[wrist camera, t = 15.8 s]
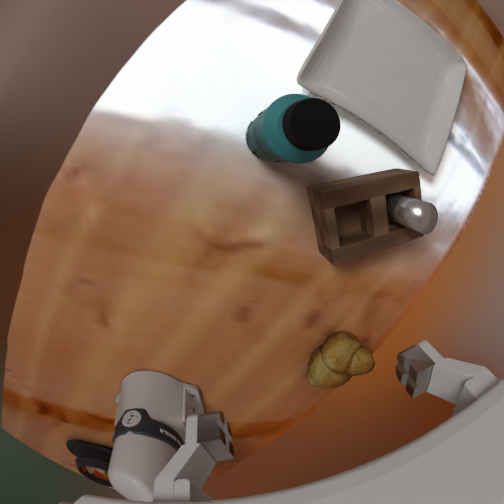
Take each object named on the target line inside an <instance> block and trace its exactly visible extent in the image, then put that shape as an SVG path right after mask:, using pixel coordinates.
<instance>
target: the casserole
mask: <svg viewBox="0 0 504 504" xmlns="http://www.w3.org/2000/svg"><path fill="white" fill-rule="evenodd" d="M67 447H68V449H69V451H70V452H71V453H72V454H73V455H75V456H77V457H78V458H77V459H76V460H75V461H76V464H77V468H78V470H79V472H80V473H81V474H83V475H84V476H85V477H87V478H89V479H90V480H92V481H94V482H97V483H99V484H102V485H105V486H108V487H113V486H112V485H111V483H110V481H109V478H108V468H109V464H110V459H111V455H112V450H110V449H107V448H104V447H101V446H97V445H92V444H86V443H83V442H79V441H76V440H68V441H67ZM113 488H114V487H113Z"/></svg>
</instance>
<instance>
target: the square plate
mask: <svg viewBox="0 0 504 504" xmlns="http://www.w3.org/2000/svg"><path fill="white" fill-rule="evenodd" d="M465 73H466V63H465V62H464V60H463V59H462V58H461V57H460V56H459V55H458V54H457V53H456V52H455V51H454V50H453V49H452V48H451V47H450V46H449V45H448V44H447V43H446V42H445V41H444V40H443V39H442V38H441V37H440V36H439V35H438V34H437V33H436V32H435V31H434V30H433V29H431V28H430V27H429V26H428V25H427V24H426V23H425V22H423V21H422V20H421V19H420V18H419V17H417V16H416V15H415V14H414V13H412V12H411V11H410V10H409V9H407V8H406V7H405V6H403V5H402V4H401V3H399V2H398V1H397V0H340V2H339V4H338V6H337V7H336V9H335V11H334V13H333V15H332V17H331V19H330V20H329V22H328V24H327V25H326V27H325V29H324V30H323V32H322V34H321V35H320V37H319V39H318V40H317V42H316V44H315V45H314V47H313V49H312V50H311V52H310V54H309V55H308V57H307V59H306V60H305V62H304V64H303V66H302V68H301V69H300V71H299V74H298V76H297V82H298V84H299V85H301V86H302V87H304V88H305V89H307V90H309V91H311V92H312V93H314V94H316V95H318V96H320V97H322V98H324V99H326V100H328V101H330V102H332V103H334V104H335V105H337V106H339V107H341V108H343V109H344V110H346V111H348V112H350V113H351V114H353V115H355V116H356V117H358V118H359V119H361V120H363V121H364V122H366V123H367V124H369V125H370V126H372V127H373V128H375V129H376V130H377V131H379V132H380V133H381V134H383V135H384V136H385V137H387V138H388V139H389V140H391V141H392V142H393V143H394V144H395V145H397V146H398V147H399V148H400V149H401V150H403V151H404V152H405V153H406V154H407V155H408V156H409V157H410V158H412V159H413V160H414V161H415V162H416V163H417V164H418V165H419V166H420V167H421V168H423V169H424V170H425V171H426V172H428V173H429V174H431V175H434V174H435V172H436V170H437V168H438V165H439V163H440V160H441V158H442V155H443V152H444V149H445V146H446V143H447V140H448V137H449V134H450V131H451V128H452V124H453V121H454V118H455V114H456V110H457V107H458V103H459V99H460V95H461V92H462V87H463V83H464V79H465Z"/></svg>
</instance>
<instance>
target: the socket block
mask: <svg viewBox="0 0 504 504" xmlns="http://www.w3.org/2000/svg"><path fill="white" fill-rule="evenodd" d="M307 189H308V194H309V199H310V204H311V209H312V214H313V220H314V225H315V231H316V236H317V242H318V248H319V252H320V253H322V254H323V255H324V256H325V257H326V258H327V259H328V260H329V261H330V262H331V263H332V264H333V265H336V264H340V263H343V262H346V261H349V260H352V259H355V258H359V257H362V256H365V255H368V254H371V253H374V252H377V251H380V250H383V249H386V248H389V247H392V246H395V245H398V244H401V243H404V242H407V241H410V240H413V239H416V238H419V237H422V236H423V234H422V233H420V232H418V231H415V230H413V229H411V228H409V227H406V226H404V225H402V224H399V223H397V222H394V221H392V220H390V219H388V217H387V207H386V198H385V195H387V194H391V193H394V194H398V195H402V196H406V197H410V198H414V199H417V200H421V201H422V199H421V188H420V179H419V172H418V171H411V170H404V169H391V170H386V171H381V172H376V173H371V174H366V175H361V176H356V177H352V178H347V179H342V180H338V181H333V182H329V183H324V184H320V185H316V186H312V187H307Z"/></svg>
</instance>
